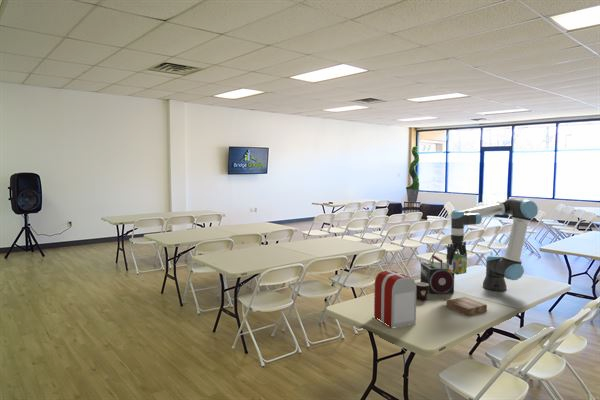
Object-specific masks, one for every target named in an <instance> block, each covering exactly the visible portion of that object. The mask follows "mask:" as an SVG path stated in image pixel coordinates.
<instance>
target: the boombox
mask: <svg viewBox="0 0 600 400" xmlns="http://www.w3.org/2000/svg"><path fill="white" fill-rule="evenodd" d="M445 248H446V253H447V252H448V245H445ZM434 260H436V261H437V262H434ZM446 268H447V262H443V260H442V259H441V258H439V257H438V256H436V255H435V254H431V262H427V261H424V262H420V281H419V282H424V283H427V284H429V286H428V293H427V294H429V295H432V294H433V295H435V294H436V295H439V294H441V295H442V294H443V295H444V294H446V295H447V294H449V295H450V294H455V274H453V273H449V272H446Z"/></svg>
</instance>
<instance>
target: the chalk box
mask: <svg viewBox="0 0 600 400" xmlns="http://www.w3.org/2000/svg"><path fill="white" fill-rule="evenodd" d="M467 261H468V255H467V256H465V255H462V254H460V253H459V250H458V249H457V250H456V251H455V254H454V257H453V270H450V269H449V259H446V264H447V268H446V272H449V273H453V274H454V275H462V274H463V275H464V274H467V268H468V267H467V266H468V265H467V263H468V262H467Z"/></svg>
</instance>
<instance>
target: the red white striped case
mask: <svg viewBox="0 0 600 400" xmlns="http://www.w3.org/2000/svg"><path fill="white" fill-rule="evenodd" d="M373 293H374V298H373V299H374V301H373V302H374V307H373V309H374V310H373V317H374V316H375V317H376V318H378V319H380V320H381V321H382V322H384V323H386V324H387V325H389V326H390V327H392V328H393V327H399V328H401V327H400V326H403V327H406V326H405V325H408V326H410V325H409V324H413V325H415V324H414V323H416V320H417V317H416V316H417V299H416V281H415V280H414V278H412V277H410V276H408V275H405V273H401V272H399V271H395V270H393V269H392V270H391V269H390V270H389V269H385V270H382V271H380V272H379V273H377V275H376V276H375V280H374V292H373ZM376 318H375V319H376ZM382 322H381V323H382ZM387 325H386V326H387ZM390 327H389V328H390ZM392 328H391V329H392Z"/></svg>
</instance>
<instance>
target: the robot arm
mask: <svg viewBox="0 0 600 400" xmlns="http://www.w3.org/2000/svg"><path fill="white" fill-rule="evenodd" d="M538 212H539V208H538V205H537V203H536V202H534V201H532V200H529V199H523V198H508V199H504V200H499V201H496V203H491V204H488V205H483V206H477V207H472V208H467V209H462V210H458V209H457V210H456V209H455V210H452V211H451V214H450V216H451V217H450V220H451V221H450V222H451V223H450V224H451V226H450V228H451V230H450V231H451V232H450V233H451V235H450V241H451V243H447V246H448V252H447V251H446V259H445V260H447V259H449V269H450V270H453V257H454V254H455V253H456V252H455V251H456V250H457V249H458V252H459V254H462V255H465V256H467V257H468V253H467V247H466V245H467V242H465V241H464V239H465V238H464V237H465V236H464V234H465V229H464V228H465V226H473V225H474V226H476V225H480V224H481V223H482V221H483V220H482V218H487V217H491V216H496V215H500V216H502V215H511V219H512V220H513V221H512V227H511V230H510V234H509V238H508V243H507V248H506V252H505V255H497V254H496V255H495V254H493V255H488V256H487V257H486V261H485V262H486V264H485V277H484V280H483V282H482V287H483V288H484V289H486V290H489V291H490V290H491V291H497V292H502V291H503V292H504V291H507V284H506V283H507V282H506V279H507V280H510V281H517V280H519V279H521V278H522V276H523V275H524V272H525V270H524V269H525V268H524V266H523V265H522V262H523V261H522V260H521V256H522V251H523V247H524V241H525V239H526V238H525V237H526V233H527V229H528V225H529V224H530V223H531V222H532V219H533V218H534V219H535V217H537V215H538Z"/></svg>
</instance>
